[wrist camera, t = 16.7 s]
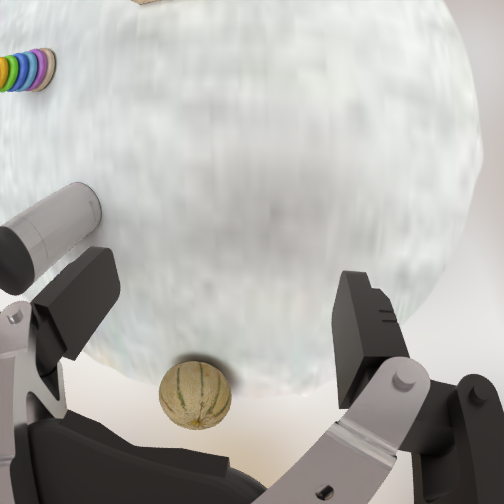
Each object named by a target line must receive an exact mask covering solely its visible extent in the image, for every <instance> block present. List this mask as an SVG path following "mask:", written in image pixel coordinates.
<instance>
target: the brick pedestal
mask: <svg viewBox="0 0 504 504" xmlns="http://www.w3.org/2000/svg"><path fill="white" fill-rule="evenodd" d="M132 1H134V2H136V3H138V4H144V3H149V2H153V1H158V0H132Z"/></svg>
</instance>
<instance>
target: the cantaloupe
mask: <svg viewBox="0 0 504 504" xmlns="http://www.w3.org/2000/svg"><path fill="white" fill-rule="evenodd" d="M159 400H160V404H161V406H162V408H163V411H164V412H165V413H166V415H167V416H168V417H169V418H170V419H171V421H173V422H174V423H175V424H177V425H178V426H181V427H184V428H188V429H192V430H197V429H198V430H202V429H206V428H210V427H213V426H215V425H217V424H218V423H219V422H221V421H222V419H223V418H224V417H225V416H226V414H227V413H228V411H229V409H230V405H231V390H230V387H229V385H228V382H227V379H226V378H225V377H224V375H223V374H222V373H221V371H219V370H218V369H217V368H215V367H213V366H212V365H209V364H207V363H205V362H197V361H189V362H185V363H180V364H178V365H175V366H173V367H172V368H171V369H170V370H169V371H167V373H166V374H165V376H164V377H163V379H162V381H161V384H160V388H159Z"/></svg>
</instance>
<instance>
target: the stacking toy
mask: <svg viewBox="0 0 504 504" xmlns="http://www.w3.org/2000/svg"><path fill="white" fill-rule="evenodd" d="M54 66H55V59H54V55H53V53H52V52H51V51H50V50H49V49H46V48H40V49H32V50H30V51H27V52H23V53H16V54H14V55H8V56H5V57H0V92H6V91H8V92H13V91H16V92H22V91H32V92H36V91H39V90H41V89H43V88H44V87H45V86H46V85H47V84H48V83H49V81H50V79H51V77H52V75H53V72H54Z"/></svg>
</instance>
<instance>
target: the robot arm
mask: <svg viewBox="0 0 504 504" xmlns="http://www.w3.org/2000/svg"><path fill="white" fill-rule="evenodd" d="M100 218H101V209H100V204H99V201H98V199H97V197H96V195H95V194H94V192H93V191H92V190H91V189H90V188H89V187H88V186H86V185H84V184H82V183H72V184H70V185H68V186H66V187H64V188H62V189H60V190H59V191H57V192H55V193H53V194H51V195H50V196H48V197H46V198H44V199H43V200H41V201H39V202H38V203H36V204H34V205H33V206H31V207H29V208H28V209H26V210H24V211H23V212H21V213H20V214H18V215H17V216H15V217H13V218H12V219H11V220H9V221H8V222H6V223H5V224H3V225H2V226H0V289H2V290H3V291H5V292H6V293H8V294H10V295H15V296H16V295H20V294H22V293H24V292H25V291H26V290H27V289H28V288H29V287H30V286H31V285H32V284H33V283H34V282H35V281H36V280H37V279H38V278H39V277H40V276H41V275H43V274H44V273H45V272H46V271H47V270H48V269H49V268H50V267H51V266H52V265H53V264H54V263H55V262H57V261H58V260H59V259H60V258H61V257H62V256H63V255H64V254H66V253H67V252H68V251H69V250H70V249H71V248H73V247H74V246H75V245H76V244H77V243H78V242H80V241H81V240H82V239H83V238H84V237H86V236H87V235H88V234H89V233H91V232H92V231H93V230H94V229H95V228H96V227H97V226H98V224H99V222H100ZM119 294H120V281H119V277H118V273H117V269H116V265H115V261H114V256H113V253H112V251H111V250H110V249H109V248H103V247H93V246H92V247H90V248H88V249H87V250H86V251H85V252H84V253H83V254H82V255H81V256H80V257H79V258H77V259H76V260H75V261H74V262H72V263H70V264H68V265H67V266H66V267H65V268H64V269H63V270H62V271H61V272H60V274H58V275H57V276H56V277H55V278H54V280H53V281H51V282H50V283H49V284H48V285H47V286H46V287H45V288H44V289H43V290H42V291H41V292H40V293H39V294H38V295H37V296H36V297H35V298H34V299H33V300H32V301H31V302H30V303H28V302H26V301H18V302H14V303H12V304H10V305H9V306H7V307H6V308H5V309H4V310H3V311H2V312H0V504H367V503H368V502H369V501H370V500H371V498H372V497H373V496H374V494H375V493H376V491H377V490H378V489H379V487H380V486H381V484H382V483H383V482H384V480H385V479H386V477H387V476H388V474H389V473H390V471H391V469H392V468H393V466H394V464H395V462H396V460H397V456H395V455H396V452H397V450H402V451H407V452H411V455H412V467H413V484H414V485H413V486H414V504H504V412H503V409H502V405H501V402H500V399H499V396H498V393H497V391H496V389H495V387H494V385H493V384H492V383H491V382H490V381H489V380H488V379H487V378H485V377H483V376H481V375H478V374H470V375H466V376H465V377H463V379H461V381H460V382H459V383H458V385H457V386H455V385H451V384H446V383H441V382H437V381H434V380H431V379H430V378H429V375H428V373H427V371H426V370H425V368H424V367H423V366H422V365H421V364H419V363H418V362H416V361H415V360H413V359H410V356H409V353H408V350H407V347H406V344H405V341H404V338H403V335H402V332H401V329H400V327H399V324H398V323H397V318H396V315H395V313H394V310H393V307H392V305H391V302H390V299H389V298H388V297H387V296H386V295H385V294H384V293H383V292H382V291H381V290H380V289H375V288H371V285H370V282H369V279H368V276H367V274H366V272H356V271H343V272H342V274H341V277H340V281H339V286H338V290H337V294H336V299H335V303H334V307H333V312H332V334H333V343H334V353H335V364H336V375H337V388H338V402H339V409H348V411H347V412H346V413H345V414H344V416H343V417H342V418H341V419H340V420H339V421H338V422H337V421H336V422H335V423H334V424H333V425H332V426H331V427H330V428H329V429H328V430H327V431H326V432H325V433H324V434H323V435H322V436H321V437H320V439H319V440H318V441H317V442H316V443H315V444H314V445H313V446H312V447H311V448H310V449H309V451H307V452H306V453H305V454H304V456H303V457H302V458H301V459H300V460H299V461H298V462H297V463H296V464H295V465H294V466H293V467H291V468H290V469H289V470H288V471H287V472H286V473H285V474H284V475H283V476H282V477H281V478H280V479H279V480H278V481H277V482H275V483H274V484H273V485H272V486H271V487H270V488H269V489H267V488H266V487H265V486H263V485H262V484H261V483H260V482H258V481H257V480H255V479H254V478H252V477H251V476H249V475H247V474H245V473H243V472H241V471H239V470H236V469H234V468H231V467H230V462H229V457H224V456H218V455H212V454H207V453H202V452H197V451H192V450H187V449H183V448H153V447H139V446H134V445H132V444H130V443H128V442H127V441H126V440H124V439H122V438H121V437H119V436H118V435H116V434H115V433H114V432H112V431H111V430H109V429H108V428H106V427H105V426H104V425H102V424H101V423H99V422H97V421H94V420H92V419H89V418H86V417H84V416H82V415H80V414H77V413H75V412H73V411H71V410H67V405H66V398H65V389H64V379H63V369H62V364H61V363H60V361H59V360H60V359H61V357H62V356H63V357H65V358H68V359H71V360H74V361H75V360H76V358H77V357H78V355H79V354H80V352H81V351H82V349H83V348H84V346H85V345H86V343H87V342H88V340H89V339H90V337H91V336H92V334H93V333H94V332H95V330H96V329H97V327H98V326H99V324H100V323H101V322H102V320H103V319H104V317H105V316H106V315H107V313H108V312H109V311H110V309H111V308H112V306H113V305H114V304H115V302H116V301H117V300H118V298H119Z"/></svg>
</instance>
